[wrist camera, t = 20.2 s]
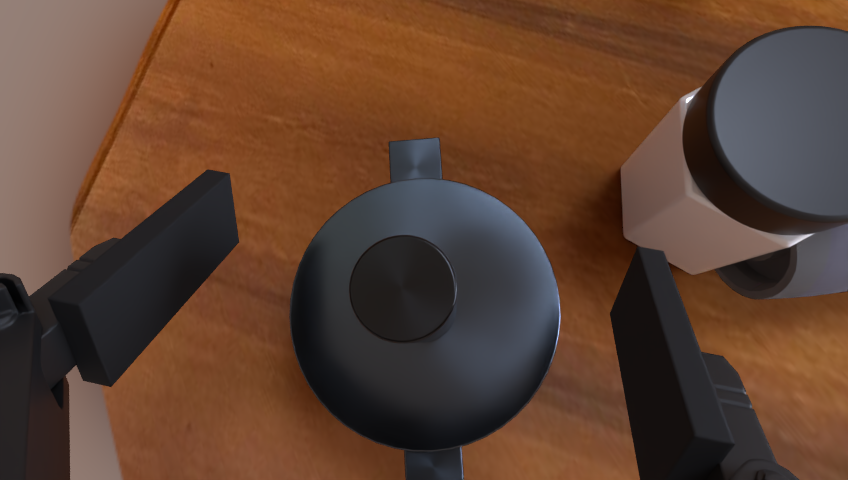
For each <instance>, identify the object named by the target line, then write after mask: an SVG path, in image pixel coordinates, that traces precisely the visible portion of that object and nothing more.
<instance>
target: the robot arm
mask: <svg viewBox="0 0 848 480" xmlns="http://www.w3.org/2000/svg"><path fill="white" fill-rule="evenodd" d="M238 243H239V238H238V231H237V224H236V217H235V209H234V202H233V195H232V188H231V180H230V173H224V172H219V171H213V170H206V171H205V172H204V173H203V174H201V175H200V176H199V177H198V178H196V179H195V180H194V181H193V182H191V183H190V184H189V185H188V186H186V187H185V188H184V189H183V190H182V191H180V192H179V193H178V194H177V195H175V196H174V197H173V198H172V199H170V200H169V201H168V202H167V203H165V204H164V205H163V206H162V207H160V208H159V209H158V210H157V211H155V212H154V213H153V214H152V215H150V216H149V217H148V218H147V219H145V220H144V221H143V222H142V223H140V224H139V225H138V226H137V227H135V228H134V229H133V230H132V231H130V232H129V233H128V234H127V235H125V236H124V237H123V238H122V239H118V238H112V239H110V240H108V241H105V242H103V243H101V244H98V245H96V246H94V247H93V248H91V249H90V250H89V251H88V252H86V253H85V254H84V255H82V256H81V257H80V259H79V260H76V261H75V262H73V263H72V264H71V265H69V266H68V268H67V270H66V269H65V270H63V271H62V272H60V273H59V274H58V275H56V276H55V277H54V278H53V279H51V280H50V281H49V282H47V283H46V284H45V285H43V286H42V287H41V288H40V289H38V290H37V291H36V292H34V293H33V294H32V295H30V296H28V294H27V292H26V290H25V287H24V285H23V283H22V281H21V279H20V278H19V277H17V276H15V275H12V274H5V273H0V480H70V444H69V443H70V440H69V439H70V438H69V436H70V435H69V384H68V381H67V378H66V376H65V375H66V374H67V373H68V372H69V371H70V370H71V369H72V368H73V367H74V366H75V365H77V367H78V369H79V372H80V374H81V377H82V379H83V381H87V382H92V383H96V384H100V385H105V386H109V387H111V386H112V385H113V384H114V383H115V382H116V381H117V380H118V379H119V377H120V376H121V375H122V374H123V373H124V372H125V371H126V369H127V368H128V367H129V366H130V365H131V364H132V363H133V362H134V360H135V359H136V358H137V357H138V356H139V355H140V354H141V353H142V351H143V350H144V349H145V348H146V347H147V346H148V345H149V343H150V342H151V341H152V340H153V339H154V338H155V337H156V336H157V334H158V333H159V332H160V331H161V330H162V329H163V328H164V326H165V325H166V324H167V323H168V322H169V321H170V320H171V319H172V317H173V316H174V315H175V314H176V313H177V312H178V311H179V309H180V308H181V307H182V306H183V305H184V304H185V303H186V302H187V300H188V299H189V298H190V297H191V296H192V295H193V294H194V292H195V291H196V290H197V289H198V288H199V287H200V286H201V285H202V283H203V282H204V281H205V280H206V279H207V278H208V277H209V276H210V274H211V273H212V272H213V271H214V270H215V269H216V268H217V266H218V265H219V264H220V263H221V262H222V261H223V260H224V259H225V257H226V256H227V255H228V254H229V253H230V252H231V251H232V249H233V248H234V247H235V246H236V245H237V244H238ZM610 317H611V322H612V328H613V333H614V339H615V344H616V350H617V355H618V360H619V366H620V371H621V377H622V382H623V388H624V393H625V399H626V404H627V410H628V415H629V421H630V426H631V432H632V437H633V443H634V448H635V454H636V459H637V465H638V470H639V476H640V480H799V479H798V478H797V477H796V476H794V475H793V474H792V473H791V472H790V471H789V470H787V469H785V468H784V467H782V466H780V465H778V464H777V462H776V460H775V457H774V455H773V453H772V450H771V448H770V446H769V443H768V441H767V439H766V436H765V434H764V432H763V430H762V427H761V425H760V423H759V420H758V418H757V416H756V413H755V411H754V409H752V404H751V402H750V400H749V397H748V395H746V394H745V392H746V390H745V388H744V386H743V383H742V381H741V379H740V377H739V374H738V373H737V372H736V370H735V369H734V368H733V367H732V366H731V365H730V364H729V363H728V361H727V360H726V359H725V358H724V357H723V356H719V355H714V354H709V353H704V352H701V350H700V348H699V345H698V342H697V340H696V337H695V334H694V331H693V329H692V326H691V323H690V321H689V318H688V315H687V313H686V310H685V307H684V305H683V302H682V299H681V296H680V294H679V291H678V288H677V286H676V283H675V280H674V278H673V275H672V272H671V270H670V267H669V264H668V261H667V259H666V256H665V253H664V251H661V250H655V249H650V248H644V247H637V249H636V252H635V254H634V256H633V259H632V261H631V264H630V266H629V269H628V271H627V273H626V276H625V278H624V281H623V283H622V285H621V288H620V290H619V293H618V295H617V298H616V300H615V302H614V305H613V307H612V310H611V312H610Z"/></svg>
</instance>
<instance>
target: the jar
mask: <svg viewBox="0 0 848 480" xmlns="http://www.w3.org/2000/svg"><path fill="white" fill-rule="evenodd" d="M620 170H621V193H622V216H623V236H624V237H625V238H626V239H627V240H629V241H631V242H633V243H635V244H636V245H638V246H640V247H644V248H650V249H655V250H661V251H664V253H665V256H666V259H667V261H668V262H669V263H671V264H673V265H675V266H676V267H678V268H680V269H682V270H684V271H685V272H687V273H689V274H691V275H696V274H700V273H703V272H707V271H710V270H714V269H717V268H720V267H724V266H727V265H731V264H734V263H737V262H741V261H744V260H748V259H751V258H754V257H758V256H761V255H765V254H768V253H771V252H775V251H778V250H782V249H785V248H789V247H791V246H793V245H795V244H796V243H798V242H800V241H802V240H804V239H806V238H807V237H809V236H811V235H813V234H815V233H818V232H822V231H826V230H829V229H832V228H835V227H838V226H842V225H845V224H848V31H844V30H841V29H836V28H831V27H823V26H795V27H788V28H782V29H778V30H774V31H771V32H768V33H765V34H763V35H761V36H759V37H756V38H754V39H753V40H751V41H749V42H747V43H746V44H744V45H743V46H741V47H740V48H739V49H738V50H736V51H735V52H734V53H733V54H732V55H731V56H730V57H729V58H728V59H727V60H726V61H725V62H724V63H723V64H722V65H721V66H720V68H719V69H718V70H717V71H716V72H715V73H714V74H713V75H712V76H711V77H710V78H709V80H708V81H707V82H706V83H705V84H704V85H703V86H702V87H700V88H698V89H696V90H694V91H692V92H690V93H689V94H687V95H685V96H683V97H681V98H680V99H679V100H678V102H677V103H676V104H675V105H674V106H673V107H672V108H671V110H670V111H669V112H668V113H667V114H666V115H665V117H664V118H663V119H662V120H661V121H660V122H659V123H658V125H657V126H656V127H655V128H654V129H653V130H652V132H651V133H650V134H649V135H648V136H647V137H646V138H645V140H644V141H643V142H642V143H641V144H640V145H639V146H638V148H637V149H636V150H635V151H634V152H633V153H632V155H631V156H630V157H629V158H628V159H627V160H626V161H625V163H624V164H623V165H622V166H621V169H620Z"/></svg>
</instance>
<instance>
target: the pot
mask: <svg viewBox="0 0 848 480" xmlns="http://www.w3.org/2000/svg"><path fill="white" fill-rule="evenodd" d="M389 160H390V180H391V183H392V182H396V181H401V180H408V179H416V178H434V179H442V165H441V151H440V139H439V138H427V139H415V140H403V141H391V142H389ZM404 458H405V478H406V480H464V472H463V458H462V446H461V447H457V448H454V449H450V450H442V451H434V452H417V451H407V450H404Z"/></svg>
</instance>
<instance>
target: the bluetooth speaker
mask: <svg viewBox="0 0 848 480" xmlns="http://www.w3.org/2000/svg"><path fill="white" fill-rule="evenodd" d="M714 270H715V271H716V273H717V274H718V275H719V276H720V278H721V279H722V280H723V281H724V282H725V283H726V284H727V285H728V286H729V287H730V288H732V289H733V290H734V291H736V292H737V293H739V294H741V295H742V296H745V297H748V298H751V299H778V298H795V297H807V296H816V295H824V294H831V293H839V292H846V291H848V224H845V225H842V226H838V227H835V228H832V229H829V230H826V231H822V232H818V233H815V234H813V235H811V236H809V237H807V238H806V239H804V240H802V241H800V242H798V243H796V244H795V245H793V246H791V247H789V248H785V249H782V250H778V251H775V252H771V253H768V254H765V255H761V256H758V257H754V258H751V259H748V260H744V261H741V262H737V263H734V264H731V265H727V266H724V267H720V268H717V269H714Z"/></svg>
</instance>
